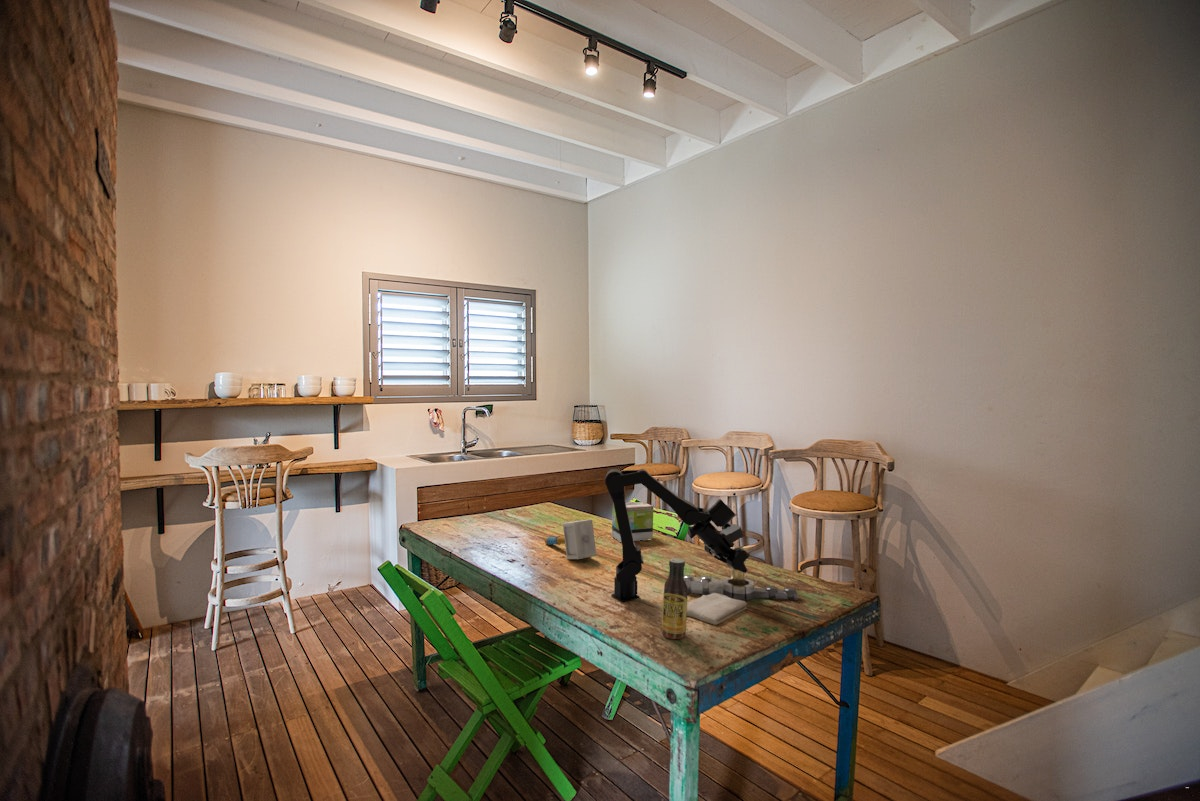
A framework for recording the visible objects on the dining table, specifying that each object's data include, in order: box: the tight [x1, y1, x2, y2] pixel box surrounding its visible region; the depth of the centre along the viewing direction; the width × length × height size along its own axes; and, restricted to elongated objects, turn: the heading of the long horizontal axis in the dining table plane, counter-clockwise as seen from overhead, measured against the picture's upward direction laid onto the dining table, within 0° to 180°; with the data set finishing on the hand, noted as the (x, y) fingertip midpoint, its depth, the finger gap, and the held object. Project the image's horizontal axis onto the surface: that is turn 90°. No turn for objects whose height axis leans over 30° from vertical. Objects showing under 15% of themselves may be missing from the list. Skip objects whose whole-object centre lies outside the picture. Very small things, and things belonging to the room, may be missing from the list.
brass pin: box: [730, 546, 747, 586], centre depth 182 cm, size 4×4×13 cm
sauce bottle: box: [661, 557, 688, 640], centre depth 152 cm, size 7×6×20 cm
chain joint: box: [684, 574, 799, 602], centre depth 182 cm, size 35×9×5 cm, turn 80°
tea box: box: [611, 501, 654, 543], centre depth 248 cm, size 15×10×15 cm
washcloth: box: [686, 593, 748, 626], centre depth 169 cm, size 12×18×3 cm, turn 137°
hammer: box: [544, 518, 598, 560], centre depth 228 cm, size 8×13×30 cm
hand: (742, 569), depth 182 cm, fingers closed on brass pin, 4 cm apart
